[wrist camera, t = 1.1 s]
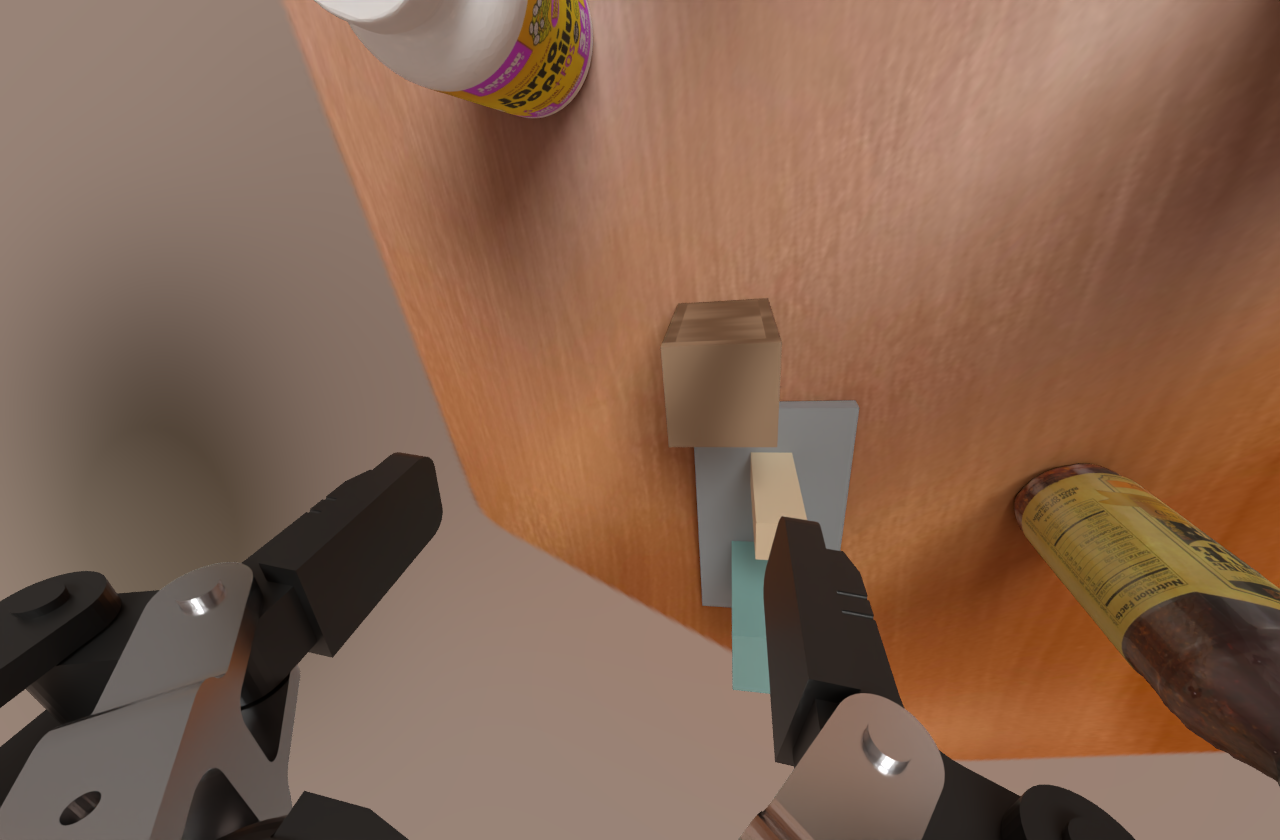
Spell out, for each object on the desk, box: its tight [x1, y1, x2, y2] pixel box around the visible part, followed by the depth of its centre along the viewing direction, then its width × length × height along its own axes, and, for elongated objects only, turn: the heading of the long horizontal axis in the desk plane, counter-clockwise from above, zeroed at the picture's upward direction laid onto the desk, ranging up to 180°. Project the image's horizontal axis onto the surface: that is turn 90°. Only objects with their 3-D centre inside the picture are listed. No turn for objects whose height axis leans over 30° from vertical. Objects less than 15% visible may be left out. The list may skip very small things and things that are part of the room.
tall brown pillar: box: [661, 298, 782, 447], centre depth 24 cm, size 5×5×8 cm
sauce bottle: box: [1014, 463, 1280, 786], centre depth 20 cm, size 7×6×20 cm
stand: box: [694, 400, 859, 694], centre depth 29 cm, size 10×18×9 cm, turn 6°
